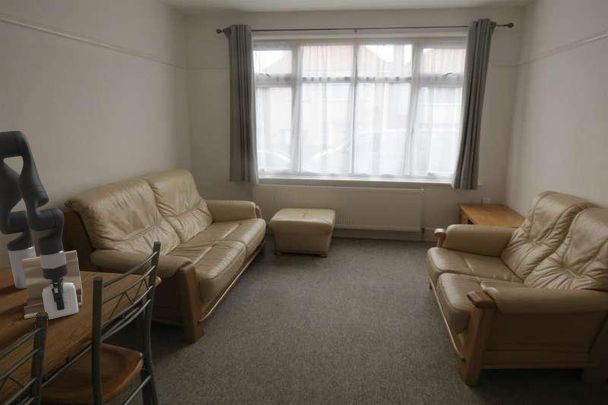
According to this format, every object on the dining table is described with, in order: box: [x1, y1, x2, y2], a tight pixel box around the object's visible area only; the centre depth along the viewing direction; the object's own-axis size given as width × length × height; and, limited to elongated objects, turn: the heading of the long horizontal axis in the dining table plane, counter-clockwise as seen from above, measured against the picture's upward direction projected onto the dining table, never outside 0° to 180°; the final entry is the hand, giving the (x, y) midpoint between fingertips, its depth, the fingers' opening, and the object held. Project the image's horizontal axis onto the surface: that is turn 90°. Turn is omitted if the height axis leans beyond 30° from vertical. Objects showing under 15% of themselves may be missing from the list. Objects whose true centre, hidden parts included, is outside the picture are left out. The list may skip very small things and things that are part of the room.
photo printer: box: [42, 283, 80, 320], centre depth 135 cm, size 10×4×12 cm, turn 123°
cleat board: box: [22, 250, 83, 319], centre depth 143 cm, size 16×18×18 cm
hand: (61, 306), depth 136 cm, fingers closed on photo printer, 4 cm apart
